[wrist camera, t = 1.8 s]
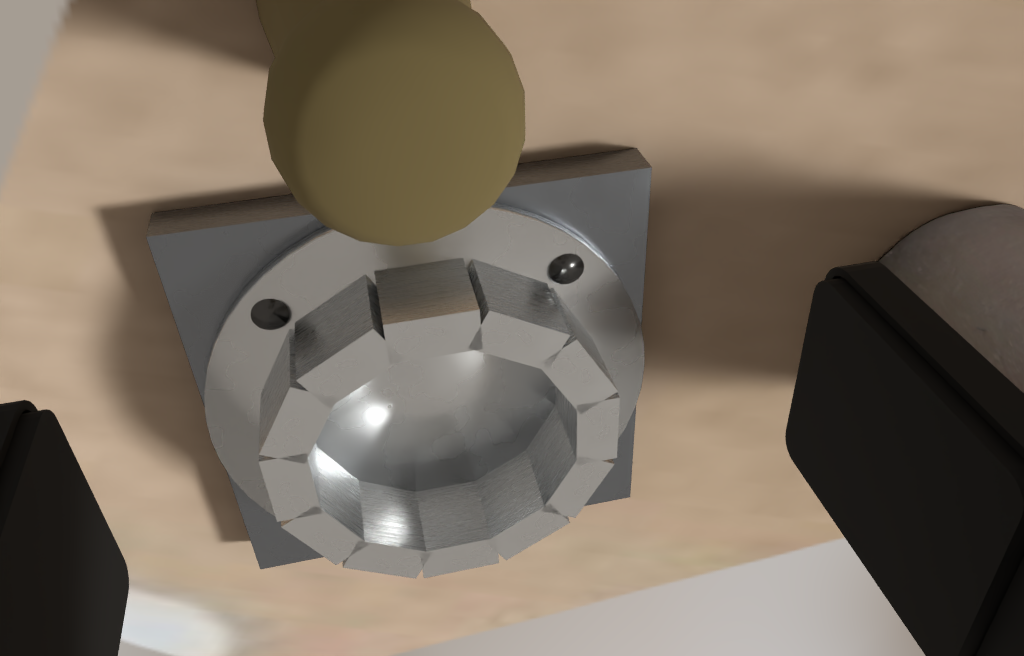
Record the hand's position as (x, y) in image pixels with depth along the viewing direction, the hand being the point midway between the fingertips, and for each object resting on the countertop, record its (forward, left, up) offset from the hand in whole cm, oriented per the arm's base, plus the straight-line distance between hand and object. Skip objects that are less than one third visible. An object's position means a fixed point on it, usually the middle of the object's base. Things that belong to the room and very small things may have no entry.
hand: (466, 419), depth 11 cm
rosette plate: (+14, +1, -18) cm, 22 cm away
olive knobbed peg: (0, 0, -18) cm, 18 cm away
